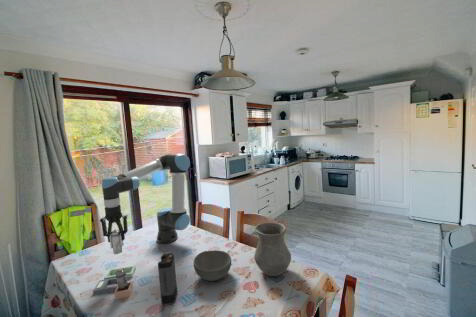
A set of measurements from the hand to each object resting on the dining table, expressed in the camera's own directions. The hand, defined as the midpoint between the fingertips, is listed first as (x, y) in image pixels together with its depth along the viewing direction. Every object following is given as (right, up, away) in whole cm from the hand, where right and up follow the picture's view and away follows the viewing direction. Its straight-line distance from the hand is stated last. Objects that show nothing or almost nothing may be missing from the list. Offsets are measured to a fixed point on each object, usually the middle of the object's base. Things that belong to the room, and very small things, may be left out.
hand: (117, 246), depth 124 cm
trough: (+1, -18, +2) cm, 18 cm away
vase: (+86, -13, -2) cm, 87 cm away
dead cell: (+11, -18, -13) cm, 25 cm away
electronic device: (+35, -18, -17) cm, 43 cm away
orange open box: (+11, -19, -13) cm, 25 cm away
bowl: (+54, -15, -2) cm, 56 cm away
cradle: (0, -19, -7) cm, 20 cm away
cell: (0, -3, 0) cm, 3 cm away
